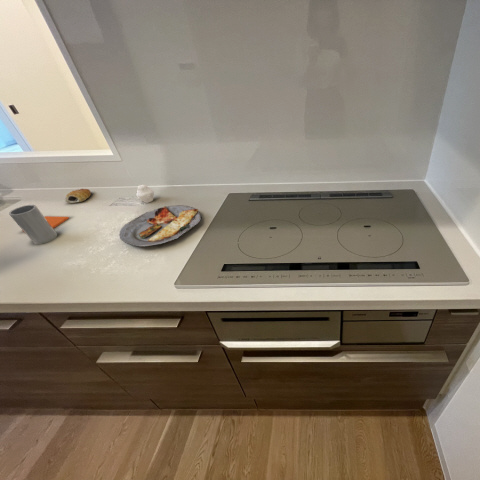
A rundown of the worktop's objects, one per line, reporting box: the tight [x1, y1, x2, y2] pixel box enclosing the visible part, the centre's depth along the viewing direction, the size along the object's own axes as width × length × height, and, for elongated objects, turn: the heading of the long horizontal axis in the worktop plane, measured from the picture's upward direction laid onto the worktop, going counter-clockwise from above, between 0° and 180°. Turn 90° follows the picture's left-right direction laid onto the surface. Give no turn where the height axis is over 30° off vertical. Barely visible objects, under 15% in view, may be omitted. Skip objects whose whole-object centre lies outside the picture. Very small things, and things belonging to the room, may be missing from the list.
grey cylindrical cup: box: [8, 204, 58, 245], centre depth 84 cm, size 6×6×11 cm
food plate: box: [118, 204, 202, 247], centre depth 90 cm, size 25×23×4 cm
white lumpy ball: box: [135, 184, 155, 204], centre depth 105 cm, size 6×6×7 cm
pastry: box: [65, 188, 92, 204], centre depth 109 cm, size 9×7×4 cm
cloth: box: [21, 215, 70, 233], centre depth 94 cm, size 9×9×1 cm
